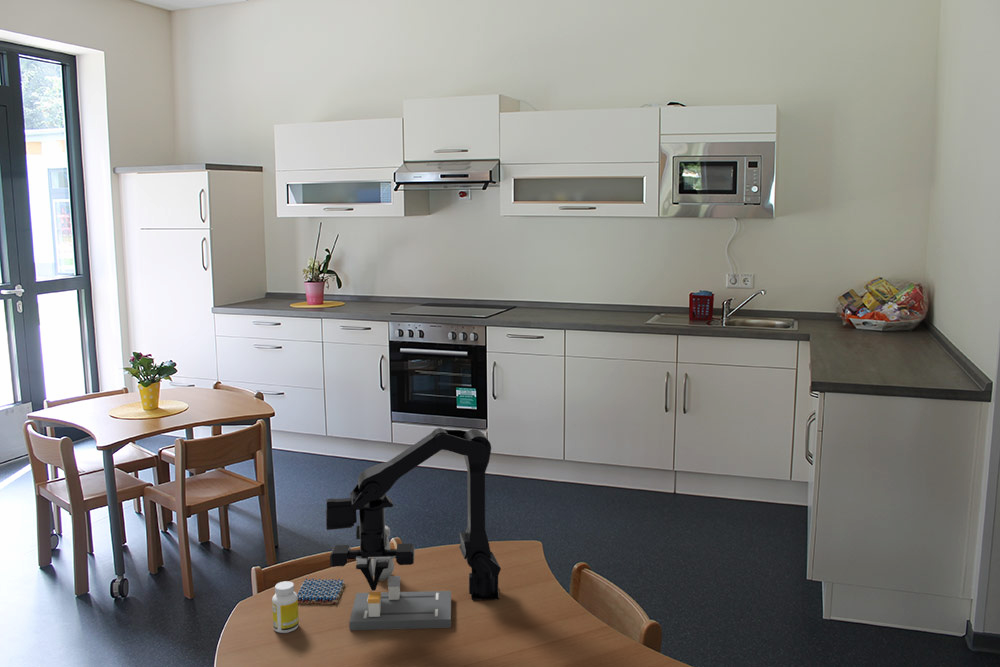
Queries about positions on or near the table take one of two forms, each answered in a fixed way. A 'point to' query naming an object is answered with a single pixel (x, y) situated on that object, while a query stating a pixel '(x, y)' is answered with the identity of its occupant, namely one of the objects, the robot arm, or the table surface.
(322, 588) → the woven mat
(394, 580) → the grey fader
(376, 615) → the orange fader
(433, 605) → the console
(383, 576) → the salt shaker
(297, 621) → the supplement bottle
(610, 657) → the table surface
